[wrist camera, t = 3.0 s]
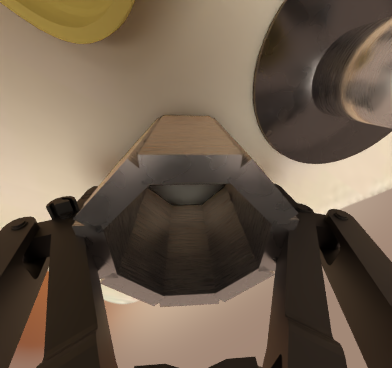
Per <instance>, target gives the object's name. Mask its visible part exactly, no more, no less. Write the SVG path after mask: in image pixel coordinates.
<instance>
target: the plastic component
mask: <svg viewBox="0 0 392 368" xmlns="http://www.w3.org/2000/svg"><path fill="white" fill-rule="evenodd" d="M134 2H135V0H0V3H2V4H3V5H4V6H6V7H7V8H9V9H10V10H11V11H13V12H14V13H16V14H17V15H18V16H20V17H21V18H23V19H24V20H26V21H28V22H29V23H31V24H32V25H34V26H35V27H37V28H38V29H40V30H42V31H44V32H46V33H48V34H50V35H52V36H54V37H56V38H59V39H62V40H64V41H67V42H72V43H77V44H88V43H93V42H97V41H100V40H102V39H104V38H106V37H108V36H110V35H111V34H112V33H114V32H115V31H116V30H117V29H119V27H120V26H121V25H122V24H123V23H124V22H125V20H126V19H127V17H128V15H129V13H130V11H131V9H132V7H133V4H134Z"/></svg>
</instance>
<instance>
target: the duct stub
mask: <svg viewBox="0 0 392 368" xmlns="http://www.w3.org/2000/svg"><path fill="white" fill-rule="evenodd" d="M253 101H254V108H255V114H256V118H257V121H258V124H259V127H260V129H261V131H262V133H263V135H264V136H265V138H266V139H267V141H268V142H269V143H270V144H271V145H272V146H273V147H274V148H275V149H276V150H277V151H279V152H280V153H281V154H283V155H285V156H286V157H288V158H290V159H292V160H295V161H298V162H303V163H309V164H322V163H330V162H335V161H339V160H342V159H345V158H348V157H350V156H353V155H355V154H358V153H359V152H361V151H363V150H365V149H367V148H369V147H370V146H372V145H374V144H375V143H377V142H378V141H380V140H381V139H382V138H384V137H385V136H386V135H388V134H389V133H390V132H391V131H392V0H285V1H284V3H283V4H282V6H281V7H280V9H279V10H278V12H277V14H276V16H275V18H274V20H273V21H272V23H271V25H270V27H269V30H268V32H267V34H266V37H265V39H264V41H263V44H262V47H261V50H260V53H259V57H258V61H257V65H256V70H255V76H254V86H253Z"/></svg>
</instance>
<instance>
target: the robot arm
mask: <svg viewBox="0 0 392 368" xmlns="http://www.w3.org/2000/svg"><path fill="white" fill-rule="evenodd" d="M120 161H121V160H120ZM120 161H119V162H120ZM119 162H118V163H119ZM118 163H117V165H118ZM117 165H116V166H117ZM116 166H115V167H116ZM115 167H114V168H115ZM114 168H113V169H114ZM112 171H113V170H112ZM112 171H111V172H112ZM111 172H110V173H111ZM110 173H109V174H110ZM109 174H108V176H109ZM108 176H107V177H108ZM107 177H106V178H107ZM106 178H105V179H106ZM105 179H104V180H105ZM104 180H103V182H104ZM103 182H102V183H103ZM102 183H101V184H102ZM101 184H100V185H101ZM100 185H99V186H100ZM274 185H275V186H276V187H277V189H278V190H279V191H280V192H281V193H282V195H283V196H284V197H285V198H286V199H287V200H288V202H289V203H290V204H291V205H292V206H293V208H294V209H295V210H296V211H297V212H298V213H299V214H297V215H296V217H297V218H298V219H299V222H298V224H297V227H296V229H295V230H292V231H288V234H287V236H286V239H285V242H284V244H283V247H282V249H281V252H280V255H279V257H278V260H277V263H276V270H275V279H274V288H273V297H272V306H271V315H270V324H269V333H268V343H267V349H266V354H265V358H264V362H263V367H259V366H258V365H257V361H256V358H255V357H246V358H233V359H226V360H224V361H221V362H219V363H218V364H215V365H213V366H211V367H209V368H347V365H346V359H345V355H344V351H343V348H342V347H341V345H340V343H338V342H337V341H335V340H334V339H333V337H332V333H331V327H330V319H329V312H328V305H327V299H326V292H325V285H324V278H323V272H322V266H323V268H324V271H325V273H326V275H327V277H328V280H329V282H330V284H331V286H332V289H333V291H334V293H335V295H336V297H337V300H338V302H339V304H340V306H341V309H342V311H343V313H344V315H345V317H346V320H347V322H348V324H349V326H350V329H351V331H352V333H353V335H354V338H355V340H356V342H357V344H358V346H359V349H360V351H361V353H362V355H363V358H364V360H365V362H366V364H367V367H368V368H392V262H391V261H390V260H389V259H388V257H387V256H386V255H385V254H384V253H383V251H382V250H381V249H380V248H379V247H378V246H377V244H376V243H375V242H374V241H373V240H372V239H371V238H370V236H369V235H368V234H367V233H366V232H365V230H364V229H363V228H362V227H361V226H360V225H359V223H358V222H357V221H356V220H355V219H354V218H353V217H352V216H351V215H350V214H348V213H346V212H344V211H341V210H337V209H331V210H329V211H328V212H327V214H326V215H322V214H317V213H314V212H313V210H312V209H311V208H310V207H308V206H306V205H303V204H299V203H296V202H295V201H294V200H293V199H292V198H291V197H290V196H289V195H288V194H287V193H286V191H285V190H284V189H283V188H282V187H280V186H279V185H277V184H274ZM99 186H94V187H92V188H90V189H89V190H87V191H86V192H85V194H84V195H83V196H82V197H81V199H79V200H78V201H77V202H76V199H75V198H74V197H72V196H65V197H60V198H57V199H55V200H53V201H51V202H50V203H48V204H47V206H46V208H47V210H48V212H49V214H50V216H51V218H52V220H49V221H44V222H39V223H37V221H36V220H35V218H34V217H23V218H19V219H16V220H13V221H12V222H10V223H8V224H7V225H6V226H4V227H3V228H2V230H1V231H0V368H8V367H9V365H10V363H11V360H12V358H13V355H14V353H15V350H16V348H17V345H18V343H19V340H20V338H21V335H22V333H23V330H24V328H25V325H26V323H27V320H28V318H29V315H30V312H31V310H32V307H33V305H34V302H35V300H36V297H37V295H38V292H39V290H40V287H41V285H42V282H43V280H44V277H45V275H46V272H47V270H48V267H49V281H48V297H47V314H46V332H45V349H44V358H43V361H42V363H40V364H39V365H38V366H37V367H36V368H118V367H117V363H116V359H115V355H114V350H113V345H112V340H111V335H110V330H109V325H108V321H107V315H106V310H105V305H104V300H103V295H102V290H101V285H100V280H99V274H98V270H97V268H96V265H95V263H94V260H93V258H92V255H91V253H90V250H89V248H88V246H87V243H86V241H85V238H84V237H76V235H75V232H74V230H73V228H72V225H73V224H74V223H75V221H76V220H74V219H73V218H74V217H75V216H76V214H77V213H78V212H79V211H80V210H81V208H82V207H83V206H84V205H85V204H86V202H87V201H88V200H89V199H90V197H91V196H92V195H93V194H94V193H95V191H96V190H97V189H98V188H99ZM321 264H322V265H321ZM134 368H177V367H174V366H171V365H167V364H157V365H145V366H135V367H134Z"/></svg>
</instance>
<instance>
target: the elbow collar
mask: <svg viewBox="0 0 392 368" xmlns="http://www.w3.org/2000/svg"><path fill="white" fill-rule="evenodd" d="M177 184H225V187H223V188H222V189H221V190H220V191H218V192H217V193H216V194H215V195H213V196H212V197H211V198H210V199H208V200H207V201H206V202H205V203H204V204H202V205H171V204H169V203H168V202H167V201H165V200H164V199H163V198H161V197H160V196H159V195H157V194H156V193H155V192H153V191H152V190H151V189H149V188H148V186H149V185H177ZM297 214H299V213H298V212H297V211H296V210H295V209H294V208H293V206H292V205H291V204H290V203H289V202H288V200H287V199H286V198H285V197H284V196H283V195H282V193H281V192H280V191H279V190H278V189H277V187H276V186H275V185H274V184H273V183H272V182H271V180H270V179H269V178H268V177H267V176H266V175H265V173H264V172H263V171H262V170H261V169H260V167H259V166H258V165H257V164H256V163H255V162H254V160H253V159H252V158H251V157H250V156H249V155H248V154H247V153H246V152H245V151H244V149H243V148H242V147H241V146H240V145H239V144H238V143H237V142H236V141H235V140H234V139H233V138H232V137H231V136H230V134H229V133H228V132H227V131H226V130H225V129H224V128H223V127H222V126H221V125H220V124H219V123H218V122H217V120H216V119H215V118H214V119H212V118H211V117H210V116H185V115H163V116H162V118H161V119H160V118H159V117H158V118H157V120H156V121H155V122H154V123H153V124H152V125H151V126H150V127H149V129H148V130H147V131H146V132H145V133H144V134H143V135H142V136H141V138H140V139H139V140H138V141H137V142H136V143H135V144H134V145H133V146H132V148H131V149H130V150H129V151H128V152H127V154H126V155H125V156H124V157H123V158H122V160H121V161H120V162H119V163H118V165H117V166H116V167H115V168H114V169H113V171H112V172H111V173H110V174H109V176H108V177H107V178H106V179H105V180H104V182H103V183H102V184H101V185H100V186H99V188H98V189H97V190H96V191H95V193H94V194H93V195H92V196H91V197H90V199H89V200H88V201H87V202H86V204H85V205H84V206H83V207H82V208H81V210H80V211H79V212H78V213H77V214H76V216H75V217H74V218H73V219H74V220H76V221H75V223H74V224H73V225H72V228H73V230H74V232H75V235H76V237H84V238H85V241H86V243H87V246H88V248H89V250H90V253H91V255H92V258H93V260H94V263H95V265H96V268H97V270H98V274H99V279H101V281H100V284H103V285H105V286H108V287H110V288H112V289H115V290H117V291H119V292H122V293H124V294H126V295H129V296H131V297H134V298H136V299H138V300H141V301H143V302H145V303H148V304H150V305H153V306H155V305H156V304H158V303H160V307H170V306H187V305H204V304H218V303H219V299H220V300H222V301H224V302H226V301H227V300H229V299H231V298H233V297H235V296H236V295H238V294H240V293H242V292H244V291H246V290H247V289H249V288H251V287H253V286H255V285H257V284H258V283H260V282H262V281H264V280H266V279H268V278H270V277H271V276H273V275H274V273H273V271H275V270H276V263H277V260H278V257H279V255H280V252H281V249H282V247H283V244H284V242H285V239H286V236H287V234H288V231H292V230H295V229H296V227H297V224H298V222H299V219H298V218H297V217H296V215H297Z"/></svg>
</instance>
